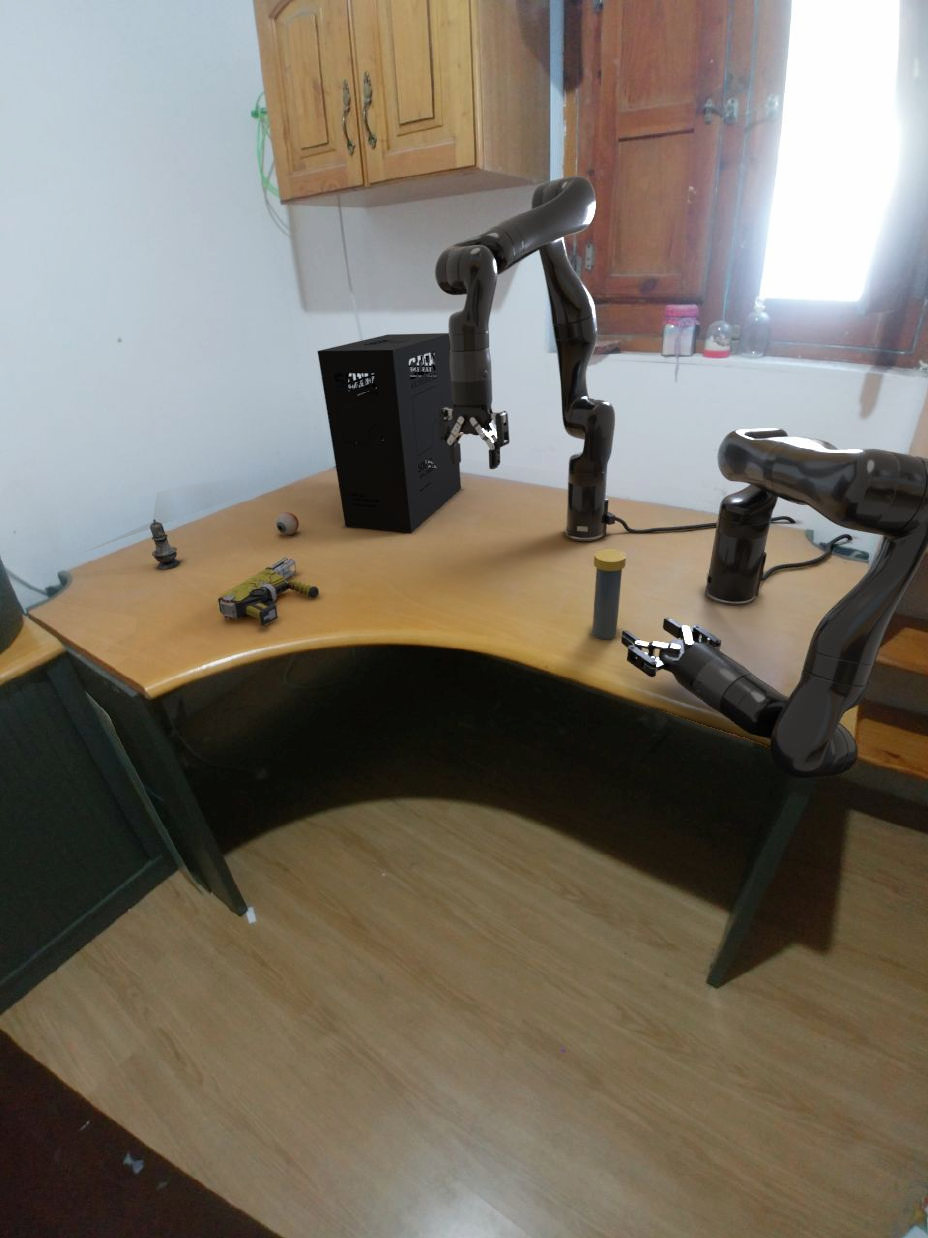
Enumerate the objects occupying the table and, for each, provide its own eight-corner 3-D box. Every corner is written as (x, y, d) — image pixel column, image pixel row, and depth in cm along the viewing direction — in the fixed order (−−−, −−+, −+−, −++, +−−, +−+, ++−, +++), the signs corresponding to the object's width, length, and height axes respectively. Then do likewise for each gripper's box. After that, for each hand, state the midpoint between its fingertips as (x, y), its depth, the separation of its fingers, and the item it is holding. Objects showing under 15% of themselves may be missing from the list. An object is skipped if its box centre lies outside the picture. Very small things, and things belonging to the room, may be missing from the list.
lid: (597, 572, 104) (597, 562, 103) (591, 559, 108) (591, 549, 107) (628, 570, 104) (629, 560, 103) (621, 557, 108) (621, 548, 107)
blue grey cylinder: (594, 639, 111) (600, 563, 103) (590, 627, 115) (594, 553, 107) (618, 638, 111) (625, 562, 103) (613, 626, 115) (619, 551, 107)
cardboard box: (403, 484, 198) (387, 334, 176) (460, 488, 192) (452, 332, 169) (345, 526, 168) (317, 350, 145) (411, 532, 161) (392, 349, 139)
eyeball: (273, 537, 164) (268, 516, 161) (287, 528, 169) (282, 508, 166) (291, 539, 161) (286, 518, 158) (305, 530, 166) (301, 510, 163)
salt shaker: (171, 569, 148) (156, 523, 142) (150, 569, 149) (135, 523, 143) (185, 560, 153) (172, 515, 147) (165, 559, 154) (151, 514, 148)
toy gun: (338, 566, 137) (282, 554, 141) (276, 612, 117) (212, 597, 121) (339, 585, 140) (283, 573, 144) (278, 633, 120) (216, 618, 124)
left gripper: (515, 374, 107) (516, 464, 115) (450, 371, 114) (455, 457, 123) (493, 381, 102) (496, 475, 110) (426, 378, 109) (433, 466, 117)
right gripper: (757, 645, 89) (680, 599, 102) (680, 671, 84) (610, 620, 97) (747, 686, 93) (675, 637, 106) (673, 713, 88) (607, 658, 101)
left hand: (474, 465), depth 116 cm, fingers open, 8 cm apart
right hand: (644, 628), depth 101 cm, fingers open, 8 cm apart
